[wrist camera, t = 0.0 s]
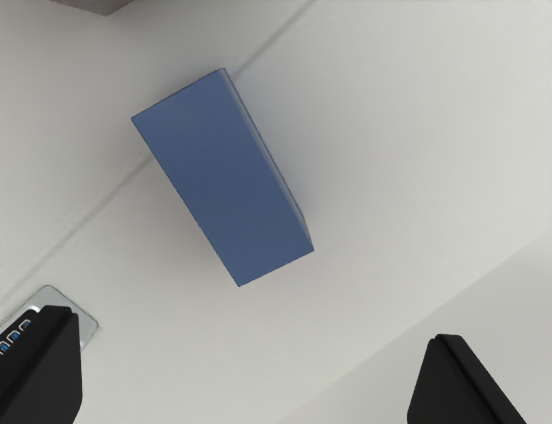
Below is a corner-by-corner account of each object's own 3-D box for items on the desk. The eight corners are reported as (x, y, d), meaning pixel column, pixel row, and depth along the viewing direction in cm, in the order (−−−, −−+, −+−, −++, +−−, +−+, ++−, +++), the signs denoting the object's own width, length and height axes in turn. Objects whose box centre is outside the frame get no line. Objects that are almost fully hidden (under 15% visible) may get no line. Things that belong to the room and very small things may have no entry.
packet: (154, 106, 23) (129, 118, 19) (224, 66, 23) (216, 68, 18) (241, 247, 27) (238, 288, 22) (304, 216, 26) (315, 251, 21)
